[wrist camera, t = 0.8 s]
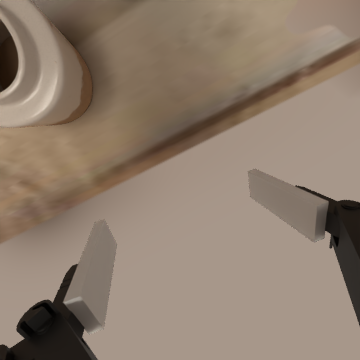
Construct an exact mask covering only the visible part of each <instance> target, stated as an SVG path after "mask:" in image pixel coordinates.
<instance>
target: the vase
mask: <svg viewBox="0 0 360 360" xmlns="http://www.w3.org/2000/svg"><path fill="white" fill-rule="evenodd" d="M91 98H92V80H91V76H90V72H89V70H88V67H87V65H86V63H85V61H84V60H83V58H82V57H81V55H80V54H79V53H78V51H77V50H76V49H75V48H74V47H73V46H72V45H71V43H70V42H69V41H68V40H67V39H66V38H65V37H64V36H63V35H62V33H61V32H60V31H59V30H58V29H57V28H56V27H55V26H54V25H53V23H52V22H51V21H50V20H49V19H48V18H47V17H46V16H45V15H44V13H43V12H42V11H41V10H40V9H39V8H38V7H37V6H36V5H35V4H34V3H33V2H32V1H31V0H0V127H1V128H22V127H35V126H47V125H58V124H65V123H69V122H71V121H74V120H75V119H77V118H79V117H80V116H81V115H82V114H83V113H84V112H85V111H86V109H87V108H88V106H89V104H90V101H91Z"/></svg>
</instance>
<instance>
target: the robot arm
mask: <svg viewBox="0 0 360 360" xmlns="http://www.w3.org/2000/svg"><path fill="white" fill-rule="evenodd" d="M248 176H249V188H250V197H251V198H252V199H254V200H255V201H257V202H258V203H259V204H261V205H262V206H264V207H265V208H266V209H268V210H269V211H271V212H272V213H273V214H275V215H276V216H278V217H279V218H280V219H282V220H283V221H285V222H286V223H287V224H289V225H290V226H291V227H293V228H294V229H296V230H297V231H298V232H300V233H301V234H303V235H304V236H305V237H307V238H308V239H310V240H311V241H312V242H317V241H319V240H322V239H324V237H325V231H327V232H329V233H330V234H331V239H330V248H332V246H333V247H334V250H335V253H336V256H337V259H338V262H339V265H340V268H341V271H342V274H343V277H344V280H345V283H346V286H347V289H348V292H349V295H350V298H351V301H352V304H353V307H354V310H355V313H356V316H357V319H358V322H359V325H360V203H359V202H356V201H351V200H341V201H335V200H333V199H331V198H328V197H326V196H324V195H321V194H319V193H317V192H314V191H311V190H309V189H307V188H305V187H301V186H293V185H291V184H288V183H286V182H284V181H281V180H279V179H277V178H275V177H273V176H270V175H268V174H266V173H264V172H261V171H259V170H257V169H253V170H250V171H248ZM116 247H117V243H116V241H115V239H114V237H113V235H112V233H111V231H110V229H109V227H108V225H107V223H106V221H105V219H103V220H100V221H97V222H95V223H94V226H93V228H92V231H91V233H90V236H89V238H88V241H87V244H86V246H85V249H84V251H83V253H82V256H81V258H80V261H79V263H78V264H76V265H73V266H72V267H71V268H70V269H69V271H68V272H67V273H66V275H65V277H64V279H63V283H62V284H61V286H60V289H59V290H58V292H57V295H56V297H55V299H54V301H53V303H52V302H51V301H50V300H43V301H41V302H38V303H37V304H35V305H34V306H33V307H31V308H30V309H29V310H28V311H27V312H26V313H25V314H24V315H23V317H22V318H21V319H20V321H19V323H18V325H17V332H18V333H19V334H20V335H22V336H23V337H24V338H25V339H24V340H22V341H20V342H19V343H17V344H16V345H15V346H13V347H11V348H10V349H9V348H8V347H7V346H5V345H0V360H97V358H96V357H95V355H94V354H93V352H92V351H91V349H90V348H89V346H88V345H87V343H86V342H85V341H84V339H83V338H82V335H83V332H84V329H85V330H86V331H87V333H88V334H92V333H95V332H97V331H99V330H102V329H104V324H105V317H106V311H107V305H108V298H109V292H110V286H111V279H112V273H113V267H114V260H115V254H116Z"/></svg>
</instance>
